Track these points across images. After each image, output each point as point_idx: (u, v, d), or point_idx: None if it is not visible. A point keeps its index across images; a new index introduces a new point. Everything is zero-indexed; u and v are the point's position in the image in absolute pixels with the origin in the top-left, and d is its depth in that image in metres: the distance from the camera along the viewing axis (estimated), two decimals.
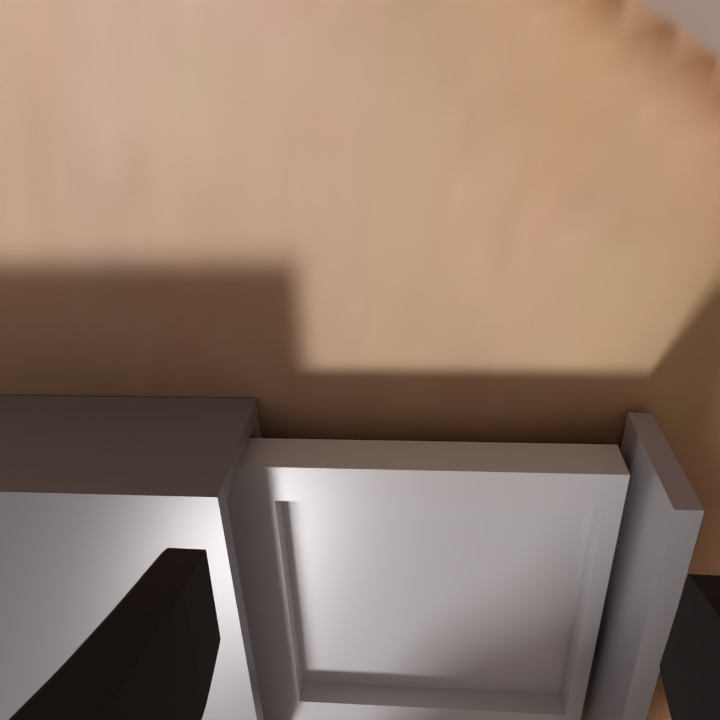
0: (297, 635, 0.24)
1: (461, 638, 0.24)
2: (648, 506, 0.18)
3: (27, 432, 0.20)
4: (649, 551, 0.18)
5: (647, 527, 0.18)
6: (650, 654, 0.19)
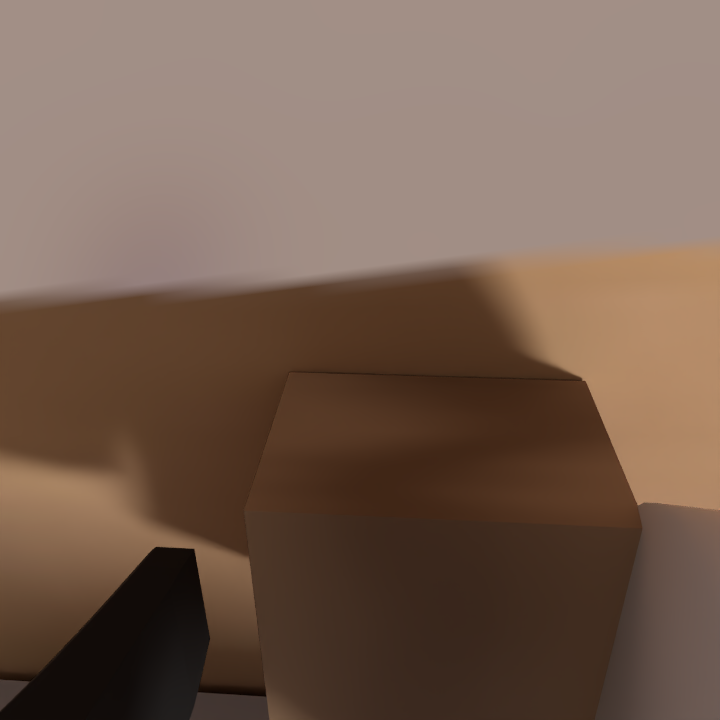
0: None
1: None
2: None
3: None
4: None
5: None
6: None
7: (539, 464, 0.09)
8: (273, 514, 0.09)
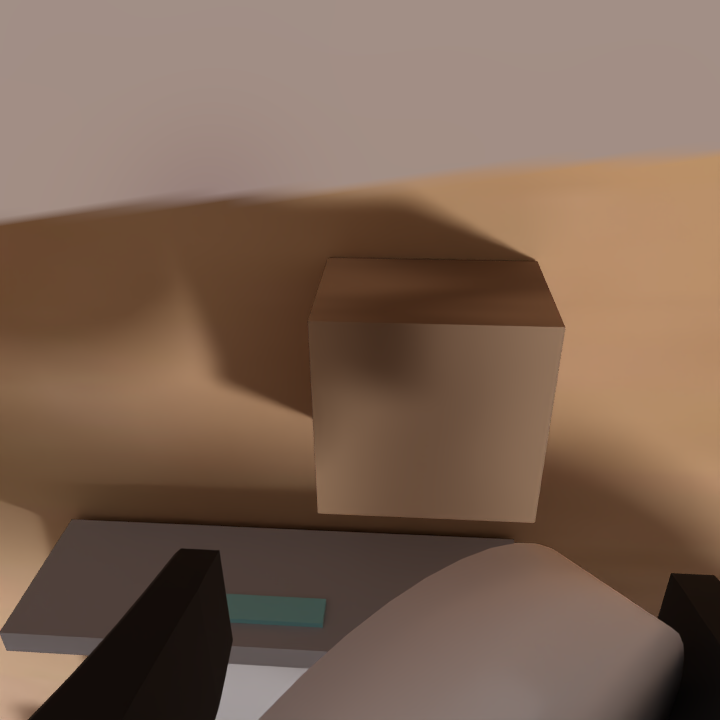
0: None
1: None
2: None
3: None
4: None
5: None
6: None
7: (499, 300, 0.14)
8: (326, 324, 0.13)
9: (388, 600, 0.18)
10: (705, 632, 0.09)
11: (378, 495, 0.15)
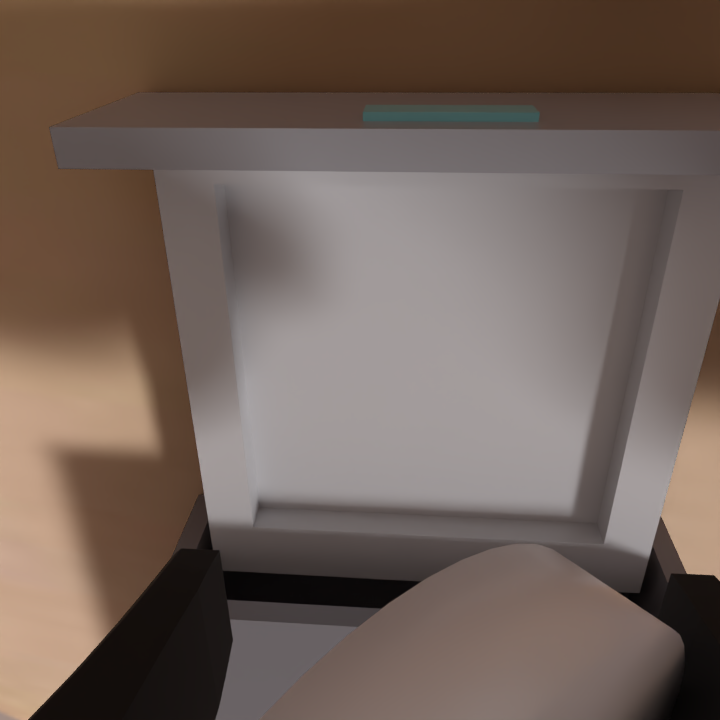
0: (500, 519, 0.19)
1: (517, 334, 0.16)
2: None
3: None
4: None
5: None
6: (355, 151, 0.11)
7: None
8: None
9: (623, 112, 0.12)
10: (705, 632, 0.09)
11: None
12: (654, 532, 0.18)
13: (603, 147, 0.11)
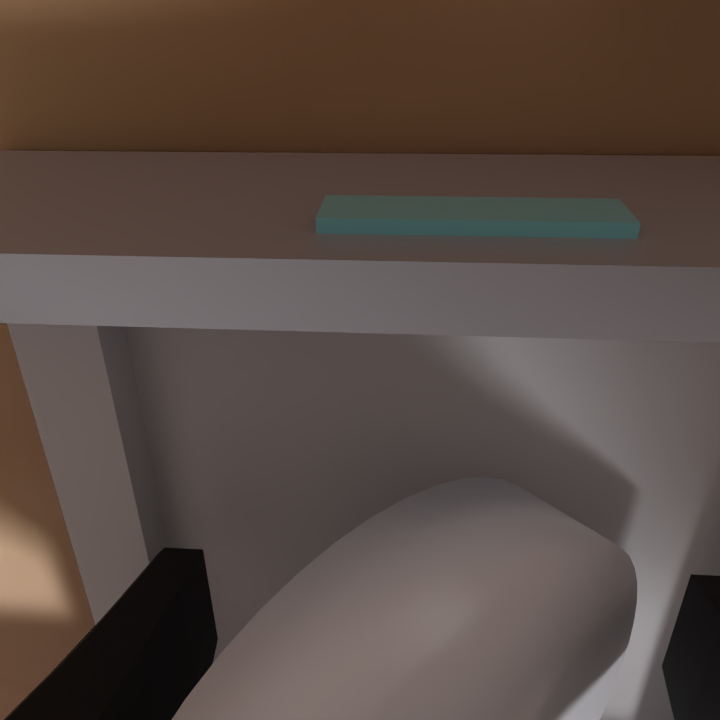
0: None
1: (563, 503, 0.11)
2: None
3: None
4: None
5: None
6: (298, 297, 0.06)
7: None
8: None
9: None
10: None
11: None
12: None
13: None
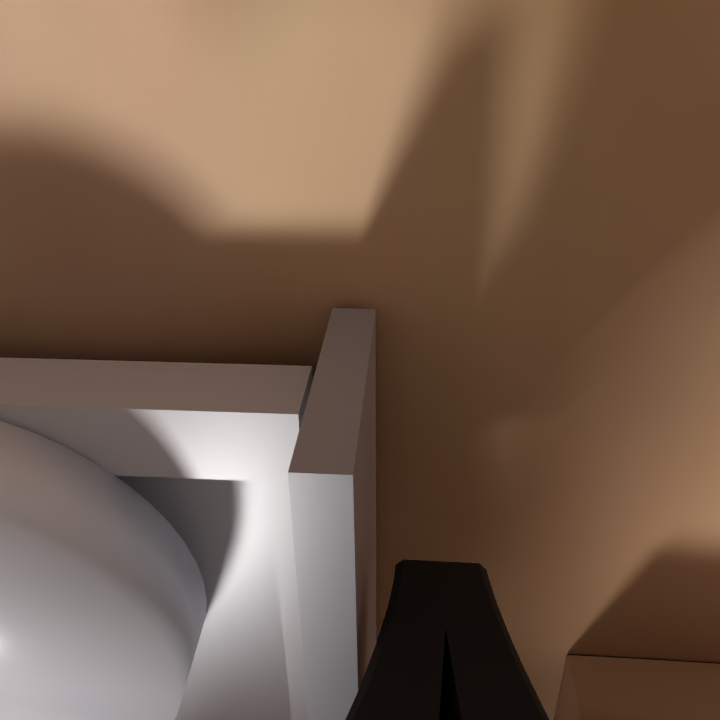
0: None
1: None
2: None
3: None
4: None
5: None
6: None
7: None
8: None
9: None
10: None
11: None
12: None
13: None
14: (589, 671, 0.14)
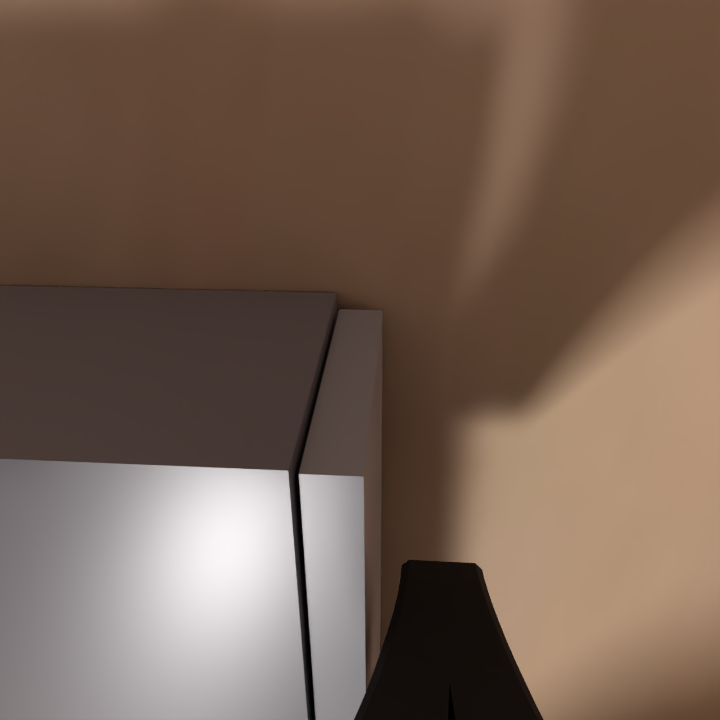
0: None
1: None
2: None
3: None
4: None
5: None
6: None
7: None
8: None
9: None
10: None
11: None
12: None
13: None
14: None
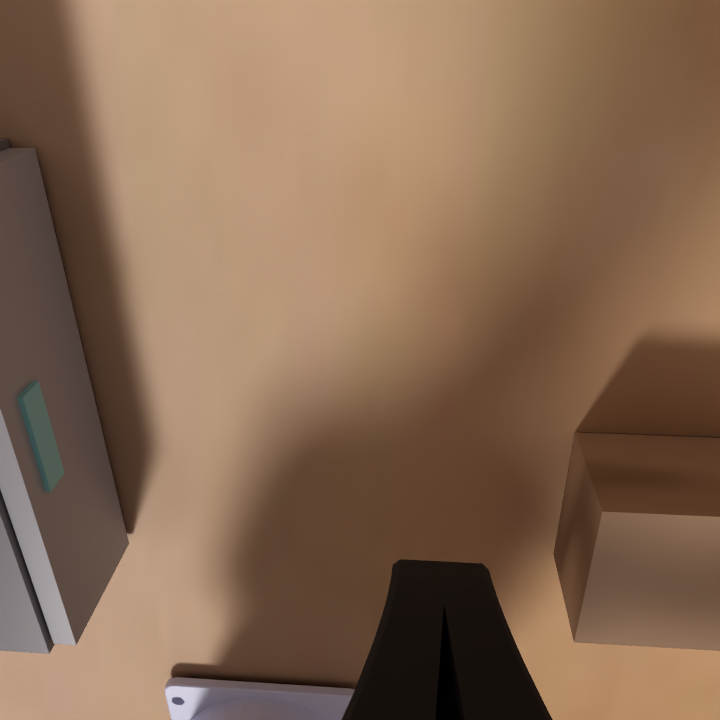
0: None
1: None
2: None
3: None
4: None
5: None
6: None
7: None
8: None
9: (74, 513, 0.20)
10: (445, 617, 0.09)
11: (617, 553, 0.18)
12: None
13: (31, 536, 0.18)
14: (591, 440, 0.20)
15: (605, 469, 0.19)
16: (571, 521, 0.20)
